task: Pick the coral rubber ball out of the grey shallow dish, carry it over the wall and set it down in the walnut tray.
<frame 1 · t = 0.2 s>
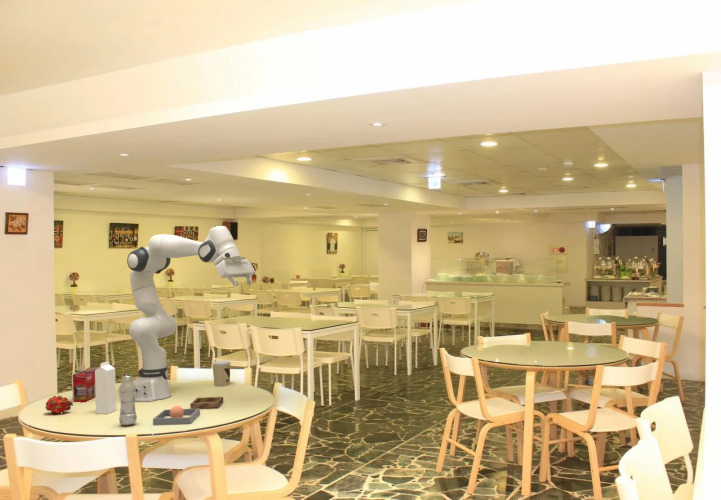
hand: (243, 285, 278), 54 cm above the table, tool tilted 30°, fingers open, 8 cm apart
plastic bottle: (128, 425, 255), on the table
milk: (106, 412, 278), on the table
tray: (207, 405, 284), on the table
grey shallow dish: (177, 419, 261), on the table
coffee cup: (222, 385, 329), on the table
ice cream box: (88, 398, 309), on the table
dragon fruit: (59, 413, 279), on the table
ball: (176, 412, 261), point 3 cm above the table
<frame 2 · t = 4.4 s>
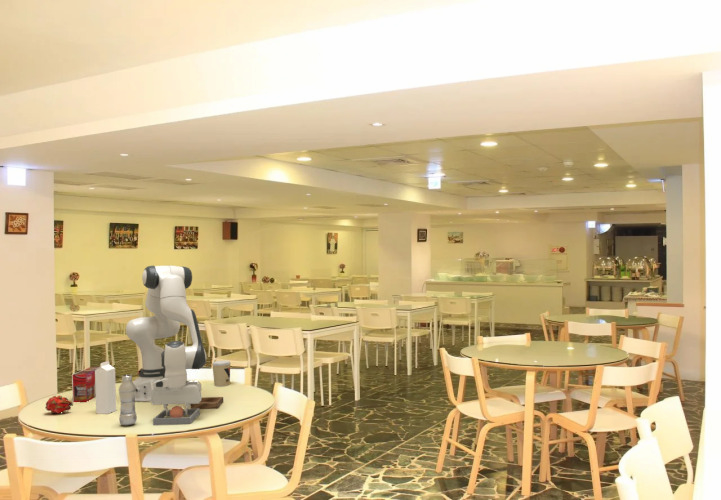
hand: (177, 414, 261), 2 cm above the table, tool pointing down, fingers closed on ball, 6 cm apart
ball: (176, 412, 261), point 3 cm above the table, touching gripper
everything else where it was.
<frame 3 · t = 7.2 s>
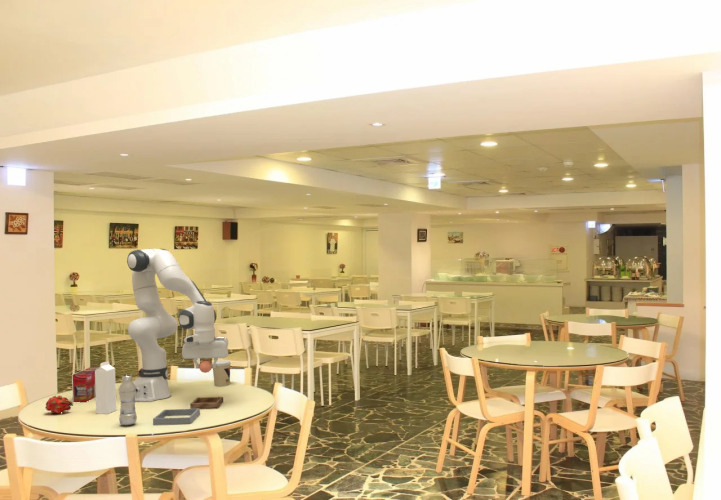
hand: (205, 368, 284), 17 cm above the table, tool pointing down, fingers closed on ball, 6 cm apart
ball: (205, 366, 284), point 18 cm above the table, touching gripper
everything else where it was.
when the fingers open (4 cm above the table, at t = 10.2 s): ball drops 1 cm, resting on tray.
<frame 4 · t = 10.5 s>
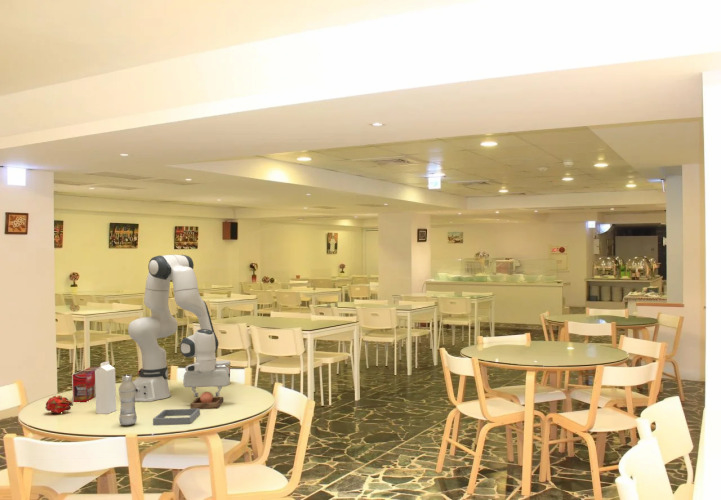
hand: (207, 396, 284), 4 cm above the table, tool pointing down, fingers open, 8 cm apart
ball: (206, 398, 284), point 3 cm above the table, touching tray
everything else where it was.
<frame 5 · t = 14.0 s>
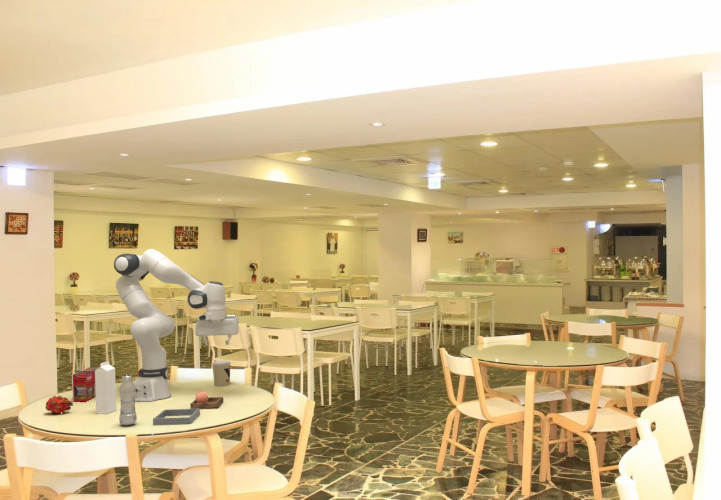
hand: (217, 344, 299), 25 cm above the table, tool pointing down, fingers open, 8 cm apart
ball: (201, 398, 284), point 3 cm above the table, tilted 48°, touching tray
everything else where it was.
at the end: ball inside the target area on the tray (2.3 cm from its centre), point 3.4 cm above the tray's base; the gripper is holding nothing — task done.
